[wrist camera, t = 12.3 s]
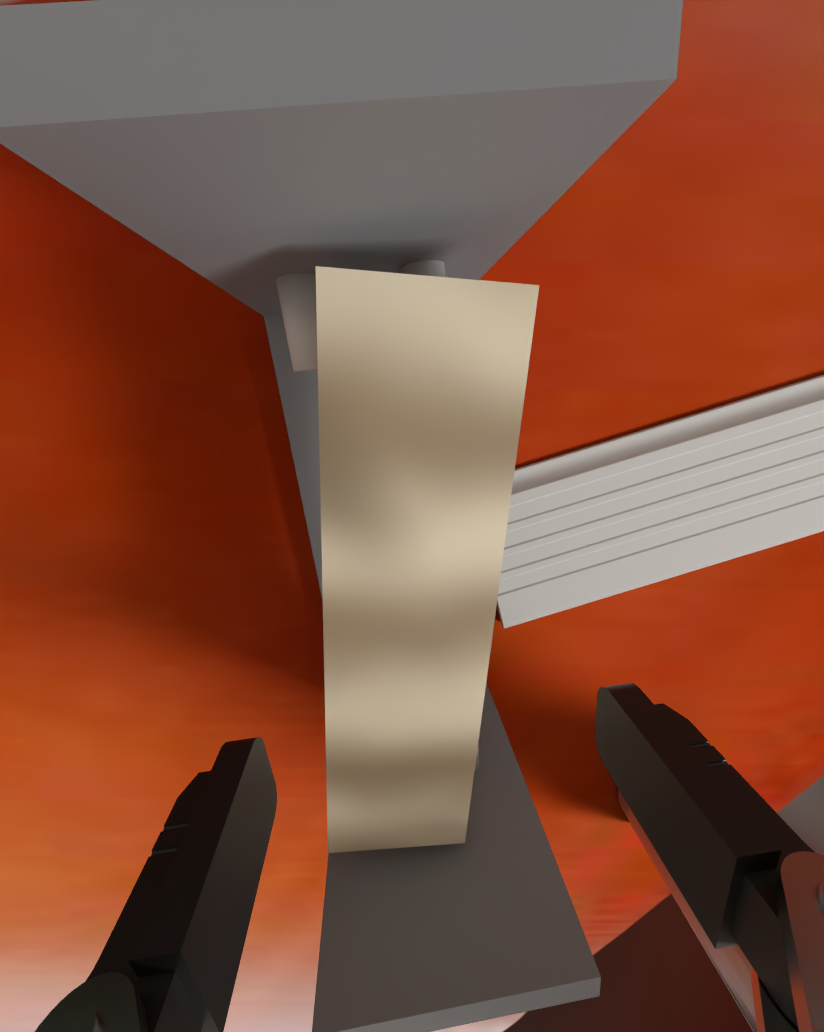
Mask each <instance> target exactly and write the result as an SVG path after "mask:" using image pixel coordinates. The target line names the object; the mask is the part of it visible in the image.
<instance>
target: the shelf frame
mask: <svg viewBox="0 0 824 1032" xmlns="http://www.w3.org/2000/svg"><path fill="white" fill-rule="evenodd" d="M682 6H683V0H95V1H76V2H58V3H40V4H21V5H3V6H0V144H2V145H3V146H5V147H6V148H8V149H9V150H11V151H12V152H14V153H15V154H17V155H19V156H20V157H22V158H23V159H25V160H26V161H28V162H29V163H31V164H32V165H34V166H35V167H37V168H38V169H40V170H41V171H43V172H44V173H46V174H47V175H49V176H50V177H52V178H54V179H55V180H57V181H58V182H60V183H61V184H63V185H64V186H66V187H67V188H69V189H70V190H72V191H73V192H75V193H76V194H78V195H79V196H81V197H82V198H84V199H85V200H87V201H89V202H90V203H92V204H93V205H95V206H96V207H98V208H99V209H101V210H102V211H104V212H105V213H107V214H108V215H110V216H111V217H113V218H114V219H116V220H117V221H119V222H120V223H122V224H124V225H125V226H127V227H128V228H130V229H131V230H133V231H134V232H136V233H137V234H139V235H140V236H142V237H143V238H145V239H146V240H148V241H149V242H151V243H152V244H154V245H155V246H157V247H159V248H160V249H162V250H163V251H165V252H166V253H168V254H169V255H171V256H172V257H174V258H175V259H177V260H178V261H180V262H181V263H183V264H184V265H186V266H187V267H189V268H190V269H192V270H194V271H195V272H197V273H198V274H200V275H201V276H203V277H204V278H206V279H207V280H209V281H210V282H212V283H213V284H215V285H216V286H218V287H219V288H221V289H222V290H224V291H226V292H227V293H229V294H230V295H232V296H233V297H235V298H236V299H238V300H239V301H241V302H242V303H244V304H245V305H247V306H248V307H250V308H251V309H253V310H254V311H256V312H257V313H259V314H261V315H262V316H264V320H265V325H266V330H267V335H268V339H269V344H270V349H271V354H272V359H273V364H274V368H275V373H276V378H277V383H278V388H279V393H280V398H281V402H282V407H283V412H284V417H285V422H286V427H287V431H288V436H289V441H290V446H291V451H292V456H293V460H294V465H295V470H296V475H297V480H298V485H299V489H300V494H301V499H302V504H303V509H304V514H305V518H306V523H307V528H308V533H309V538H310V543H311V547H312V552H313V557H314V562H315V567H316V572H317V577H318V581H319V586H320V591H321V596H322V601H323V591H322V545H321V499H320V452H319V406H318V360H317V313H316V267H315V266H320V267H331V268H343V269H355V270H366V271H378V272H390V273H401V274H413V275H425V276H436V277H448V278H460V279H471V280H479V279H480V278H481V277H482V276H483V275H484V274H485V273H486V272H487V271H488V270H489V269H490V268H491V267H492V266H493V265H494V264H495V263H496V262H497V261H498V260H499V259H500V258H501V257H502V256H503V255H504V254H505V253H506V252H507V251H508V250H509V249H510V248H511V247H512V245H513V244H514V243H515V242H516V241H517V240H518V239H519V238H520V237H521V236H522V235H523V234H524V233H525V232H526V231H527V230H528V229H529V228H530V227H531V226H532V225H533V224H534V223H535V222H536V221H537V220H538V219H539V218H540V217H541V216H542V215H543V214H544V213H545V212H546V211H547V210H548V209H549V208H550V207H551V206H552V205H553V204H554V203H555V202H556V201H557V200H558V199H559V198H560V197H561V196H562V195H563V194H564V193H565V192H566V191H567V190H568V189H569V188H570V187H571V185H572V184H573V183H574V182H575V181H576V180H577V179H578V178H579V177H580V176H581V175H582V174H583V173H584V172H585V171H586V170H587V169H588V168H589V167H590V166H591V165H592V164H593V163H594V162H595V161H596V160H597V159H598V158H599V157H600V156H601V155H602V154H603V153H604V152H605V151H606V150H607V149H608V148H609V147H610V146H611V145H612V144H613V143H614V142H615V141H616V140H617V139H618V138H619V137H620V136H621V135H622V134H623V133H624V132H625V131H626V130H627V129H628V128H629V127H630V126H631V124H632V123H633V122H634V121H635V120H636V119H637V118H638V117H639V116H640V115H641V114H642V113H643V112H644V111H645V110H646V109H647V108H648V107H649V106H650V105H651V104H652V103H653V102H654V101H655V100H656V99H657V98H658V97H659V96H660V95H661V94H662V93H663V92H664V91H665V90H666V89H667V88H668V87H669V86H670V85H671V84H672V83H673V82H674V81H675V80H676V77H677V65H678V53H679V41H680V29H681V18H682ZM600 981H601V976H600V974H599V971H598V969H597V966H596V963H595V961H594V958H593V956H592V953H591V950H590V948H589V945H588V943H587V940H586V937H585V935H584V932H583V930H582V927H581V925H580V922H579V919H578V917H577V914H576V912H575V909H574V907H573V904H572V901H571V899H570V896H569V894H568V891H567V889H566V886H565V883H564V881H563V878H562V876H561V873H560V870H559V868H558V865H557V863H556V860H555V858H554V855H553V852H552V850H551V847H550V845H549V842H548V840H547V837H546V834H545V832H544V829H543V827H542V824H541V821H540V819H539V816H538V814H537V811H536V809H535V806H534V803H533V801H532V798H531V796H530V793H529V791H528V788H527V785H526V783H525V780H524V778H523V775H522V772H521V770H520V767H519V765H518V762H517V760H516V757H515V754H514V752H513V749H512V747H511V744H510V742H509V739H508V736H507V734H506V731H505V729H504V726H503V724H502V721H501V718H500V716H499V713H498V711H497V708H496V705H495V703H494V700H493V698H492V695H491V693H490V690H489V687H488V685H487V682H486V688H485V696H484V703H483V711H482V718H481V726H480V733H479V741H478V748H477V756H476V763H475V771H474V778H473V786H472V793H471V801H470V808H469V816H468V823H467V831H466V838H465V843H459V844H445V845H432V846H418V847H404V848H390V849H377V850H363V851H349V852H335V853H329V856H328V867H327V877H326V888H325V899H324V909H323V920H322V931H321V941H320V952H319V963H318V973H317V984H316V995H315V1005H314V1016H313V1027H312V1032H430V1031H435V1030H440V1029H445V1028H449V1027H454V1026H459V1025H464V1024H468V1023H473V1022H478V1021H483V1020H487V1019H492V1018H497V1017H502V1016H506V1015H511V1014H516V1013H521V1012H526V1011H530V1010H535V1009H540V1008H544V1007H549V1006H554V1005H559V1004H563V1003H568V1002H573V1001H577V1000H582V999H587V998H592V997H597V996H599V993H600Z"/></svg>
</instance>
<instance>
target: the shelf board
mask: <svg viewBox="0 0 824 1032" xmlns="http://www.w3.org/2000/svg"><path fill="white" fill-rule="evenodd" d="M315 267H316V313H317V360H318V406H319V452H320V499H321V545H322V591H323V638H324V684H325V730H326V777H327V823H328V853H335V852H349V851H363V850H377V849H390V848H404V847H418V846H432V845H445V844H459V843H465V838H466V831H467V823H468V816H469V808H470V801H471V793H472V786H473V778H474V771H475V763H476V756H477V748H478V741H479V733H480V726H481V718H482V711H483V703H484V696H485V688H486V681H487V673H488V666H489V658H490V651H491V643H492V636H493V628H494V621H495V613H496V606H497V598H498V591H499V583H500V576H501V568H502V561H503V553H504V546H505V538H506V531H507V523H508V516H509V508H510V501H511V493H512V486H513V478H514V471H515V463H516V456H517V448H518V441H519V433H520V426H521V418H522V411H523V403H524V396H525V388H526V381H527V373H528V366H529V358H530V351H531V343H532V336H533V328H534V321H535V313H536V306H537V298H538V291H539V285H530V284H518V283H506V282H495V281H483V280H471V279H460V278H448V277H436V276H425V275H413V274H401V273H390V272H378V271H366V270H355V269H343V268H331V267H320V266H315Z"/></svg>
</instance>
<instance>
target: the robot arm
mask: <svg viewBox="0 0 824 1032" xmlns="http://www.w3.org/2000/svg"><path fill="white" fill-rule="evenodd" d="M595 740H596V745H597V749H598V752H599V755H600V758H601V760H602V762H603V764H604V766H605V768H606V769H607V771H608V773H609V774H610V776H611V778H612V779H613V781H614V783H615V784H616V786H617V788H618V800H619V805H620V806H621V808H622V810H623V811H624V813H625V815H626V816H627V818H628V820H629V822H630V823H631V826H632V827H633V829H634V831H635V832H636V834H637V836H638V838H639V839H640V841H641V843H642V844H643V846H644V848H645V849H646V851H647V853H648V854H649V856H650V858H651V859H652V861H653V863H654V865H655V866H656V868H657V870H658V871H659V873H660V875H661V876H662V878H663V880H664V881H665V883H666V885H667V887H668V888H669V890H670V892H671V893H672V895H673V897H674V898H675V900H676V902H677V903H678V905H679V907H680V908H681V910H682V912H683V913H684V915H685V917H686V918H687V920H688V922H689V924H690V925H691V927H692V929H693V930H694V932H695V934H696V935H697V937H698V939H699V941H700V942H701V944H702V946H703V947H704V949H705V951H706V952H707V954H708V956H709V957H710V959H711V961H712V962H713V964H714V966H715V967H716V969H717V971H718V972H719V974H720V976H721V977H722V979H723V980H724V982H725V984H726V986H727V988H728V989H729V991H730V993H731V994H732V996H733V998H734V999H735V1001H736V1003H737V1004H738V1006H739V1008H740V1009H741V1011H742V1013H743V1014H744V1016H745V1018H746V1020H747V1021H748V1023H749V1025H750V1026H751V1028H752V1030H753V1031H754V1032H824V855H822V854H818V853H815V852H814V851H813V850H812V849H811V848H810V847H809V846H807V844H805V843H804V842H803V841H802V840H801V839H800V837H799V836H798V835H797V834H796V833H795V832H794V831H793V830H792V829H791V828H790V827H789V826H788V825H787V824H786V823H785V822H784V821H783V820H782V818H781V817H780V816H779V815H778V814H777V813H776V812H775V811H774V810H773V809H772V808H771V807H770V806H769V805H768V804H767V803H766V801H765V800H764V799H763V798H762V797H761V796H760V795H759V794H758V793H757V792H756V791H755V790H754V789H753V788H752V787H751V786H750V785H749V783H748V782H747V781H746V780H745V779H744V778H743V777H742V776H741V775H740V774H739V773H738V772H737V771H736V770H735V769H734V768H733V767H732V765H728V764H727V762H726V759H725V758H724V757H723V756H722V755H721V754H720V753H719V752H718V751H717V750H716V749H715V747H714V746H710V744H709V741H708V740H707V739H706V738H705V737H704V736H703V735H702V734H701V733H700V732H699V731H698V729H697V728H696V727H695V726H694V725H693V724H692V723H691V722H690V721H689V720H688V719H686V718H685V717H683V716H682V715H680V714H679V713H677V712H675V711H674V710H672V709H671V708H669V707H668V706H666V705H665V704H656V705H654V704H653V703H652V702H651V701H650V700H649V698H648V697H647V696H646V695H645V694H644V693H643V692H642V691H641V689H640V688H639V687H638V686H636V685H635V684H633V683H627V684H621V685H614V686H607V687H601V688H599V690H598V694H597V710H596V727H595ZM276 803H277V791H276V784H275V780H274V777H273V773H272V770H271V766H270V763H269V759H268V756H267V752H266V749H265V745H264V742H263V740H262V739H261V738H260V737H257V738H250V739H243V740H237V741H230V742H226V743H225V744H224V745H223V746H222V747H221V749H220V751H219V754H218V756H217V758H216V761H215V763H214V765H213V767H212V770H211V771H207V772H201V773H198V774H197V776H196V777H195V778H194V779H193V780H192V781H191V783H190V784H189V785H188V786H187V787H186V789H185V790H184V791H183V792H182V793H181V794H180V796H179V797H178V798H177V800H176V802H175V804H174V806H173V808H172V810H171V812H170V814H169V817H168V819H167V821H166V823H165V825H164V830H163V832H161V833H160V835H159V837H158V839H157V841H156V843H155V845H154V847H153V849H152V855H151V857H148V859H147V862H146V864H145V866H144V868H143V870H142V872H141V874H140V876H139V878H138V880H137V882H136V884H135V886H134V888H133V890H132V892H131V894H130V896H129V898H128V900H127V902H126V904H125V906H124V909H123V911H122V913H121V915H120V917H119V919H118V921H117V923H116V925H115V927H114V929H113V931H112V933H111V935H110V937H109V939H108V941H107V943H106V945H105V947H104V949H103V951H102V954H101V956H100V958H99V960H98V961H97V963H96V965H95V967H94V969H93V971H92V972H91V974H90V975H89V977H88V978H87V980H86V982H84V983H83V984H81V985H80V986H78V987H77V988H76V989H74V990H73V991H72V992H70V993H69V994H68V995H67V996H66V997H65V998H64V999H63V1000H61V1001H60V1002H59V1003H58V1004H57V1006H56V1007H55V1008H54V1009H53V1010H52V1011H51V1012H50V1013H49V1014H48V1015H47V1017H46V1018H45V1019H44V1020H43V1021H42V1023H41V1024H40V1025H39V1026H38V1028H37V1029H36V1031H35V1032H223V1030H224V1026H225V1022H226V1018H227V1014H228V1009H229V1005H230V1001H231V997H232V993H233V989H234V984H235V980H236V976H237V972H238V968H239V964H240V959H241V955H242V951H243V947H244V943H245V939H246V934H247V930H248V926H249V922H250V918H251V914H252V909H253V905H254V901H255V897H256V893H257V889H258V884H259V880H260V876H261V872H262V868H263V864H264V859H265V855H266V851H267V847H268V843H269V839H270V834H271V830H272V826H273V822H274V818H275V812H276Z"/></svg>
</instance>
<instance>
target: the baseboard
mask: <svg viewBox="0 0 824 1032" xmlns="http://www.w3.org/2000/svg"><path fill="white" fill-rule="evenodd" d="M822 531H824V375H820V376H817V377H814V378H811V379H807V380H804V381H801V382H798V383H794V384H791V385H788V386H785V387H781V388H778V389H775V390H771V391H768V392H765V393H762V394H758V395H755V396H752V397H749V398H745V399H742V400H739V401H736V402H732V403H729V404H726V405H723V406H719V407H716V408H713V409H709V410H706V411H703V412H700V413H696V414H693V415H690V416H687V417H683V418H680V419H677V420H674V421H670V422H667V423H664V424H661V425H657V426H654V427H651V428H647V429H644V430H641V431H638V432H634V433H631V434H628V435H625V436H621V437H618V438H615V439H612V440H608V441H605V442H602V443H599V444H595V445H592V446H589V447H586V448H582V449H579V450H576V451H572V452H569V453H566V454H563V455H559V456H556V457H553V458H550V459H546V460H543V461H540V462H537V463H533V464H530V465H527V466H524V467H520V468H517V469H515V471H514V478H513V486H512V493H511V501H510V508H509V516H508V523H507V531H506V538H505V546H504V553H503V561H502V568H501V576H500V583H499V591H498V598H497V609H498V613H499V617H500V621H501V623H502V625H503V627H504V628H508V627H511V626H514V625H517V624H521V623H524V622H527V621H530V620H534V619H537V618H540V617H544V616H547V615H550V614H553V613H557V612H560V611H563V610H566V609H570V608H573V607H576V606H580V605H583V604H586V603H589V602H593V601H596V600H599V599H603V598H606V597H609V596H612V595H616V594H619V593H622V592H625V591H629V590H632V589H635V588H639V587H642V586H645V585H648V584H652V583H655V582H658V581H661V580H665V579H668V578H671V577H675V576H678V575H681V574H684V573H688V572H691V571H694V570H697V569H701V568H704V567H707V566H711V565H714V564H717V563H720V562H724V561H727V560H730V559H733V558H737V557H740V556H743V555H747V554H750V553H753V552H756V551H760V550H763V549H766V548H769V547H773V546H776V545H779V544H783V543H786V542H789V541H792V540H796V539H799V538H802V537H806V536H809V535H812V534H815V533H819V532H822Z"/></svg>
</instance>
